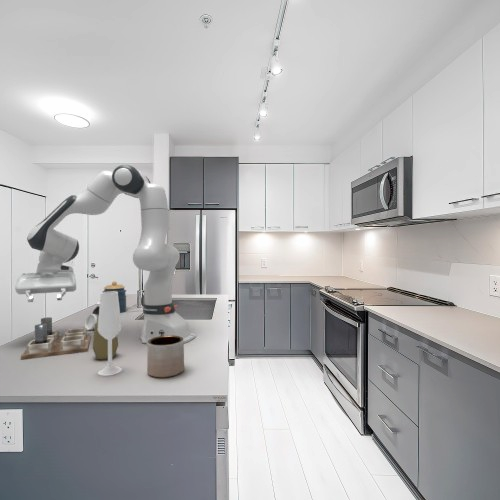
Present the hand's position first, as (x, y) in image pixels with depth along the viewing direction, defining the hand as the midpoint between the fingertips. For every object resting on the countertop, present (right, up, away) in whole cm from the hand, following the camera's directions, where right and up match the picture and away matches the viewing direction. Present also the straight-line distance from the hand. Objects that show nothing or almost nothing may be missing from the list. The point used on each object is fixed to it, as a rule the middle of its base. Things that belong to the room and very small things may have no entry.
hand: (45, 300), depth 121 cm
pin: (+4, -16, -8) cm, 19 cm away
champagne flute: (+36, -18, -24) cm, 47 cm away
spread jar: (+8, -17, +27) cm, 33 cm away
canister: (-1, -17, +64) cm, 66 cm away
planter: (+53, -18, -25) cm, 61 cm away
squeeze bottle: (+29, -18, -12) cm, 36 cm away
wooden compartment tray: (+6, -18, -1) cm, 19 cm away
